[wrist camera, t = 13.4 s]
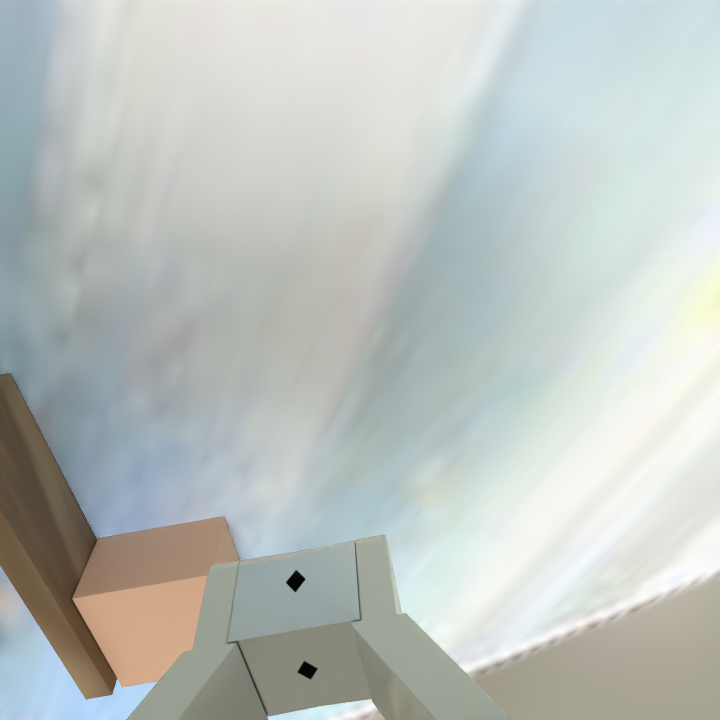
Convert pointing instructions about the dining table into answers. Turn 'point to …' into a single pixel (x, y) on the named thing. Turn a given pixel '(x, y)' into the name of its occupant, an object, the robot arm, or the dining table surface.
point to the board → (46, 542)
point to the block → (150, 594)
